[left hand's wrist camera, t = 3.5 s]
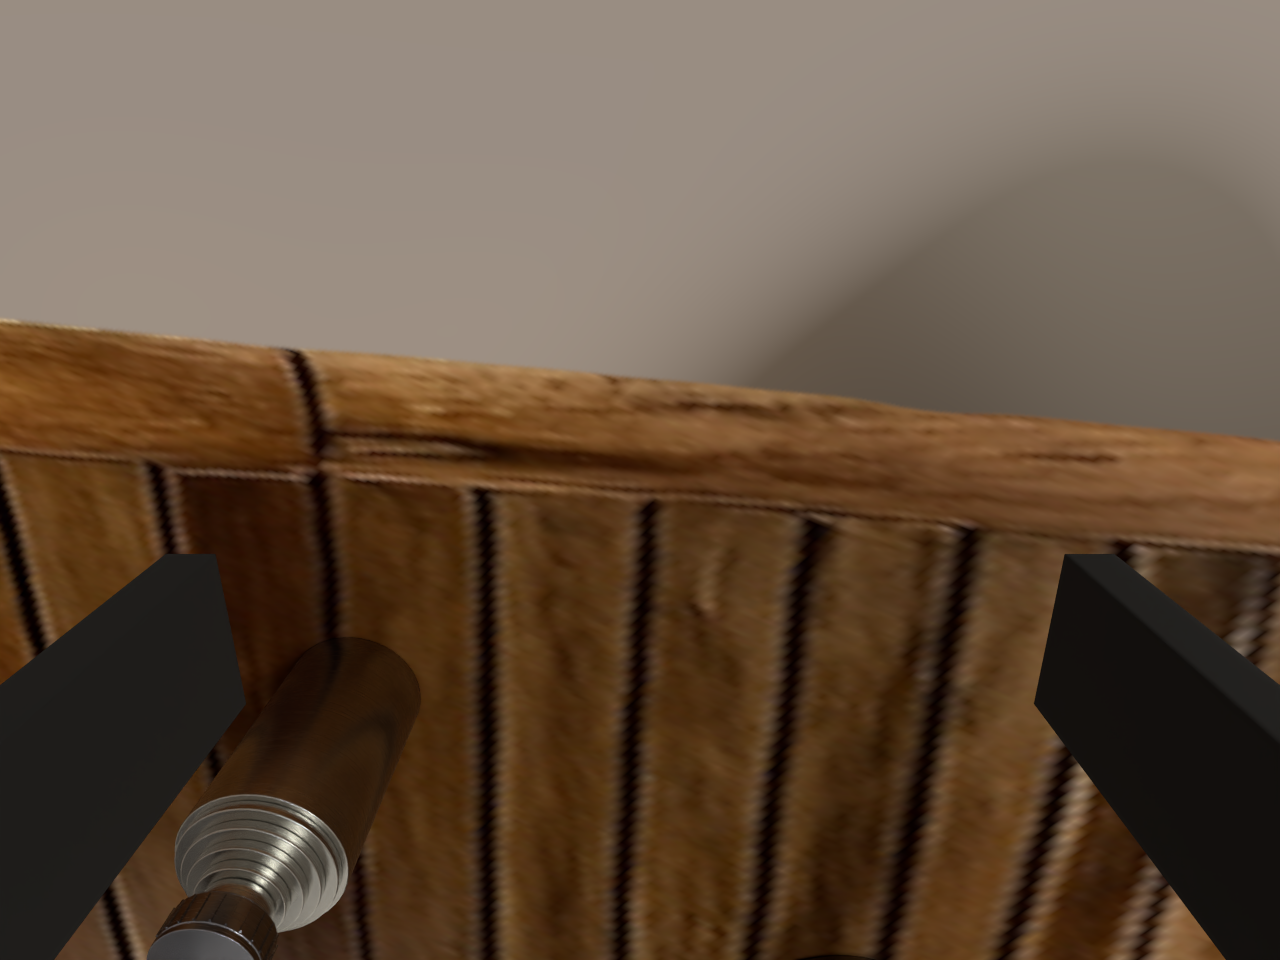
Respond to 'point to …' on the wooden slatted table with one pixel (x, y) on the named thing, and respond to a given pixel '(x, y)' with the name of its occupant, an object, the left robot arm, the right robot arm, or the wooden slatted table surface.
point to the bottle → (303, 784)
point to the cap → (216, 930)
